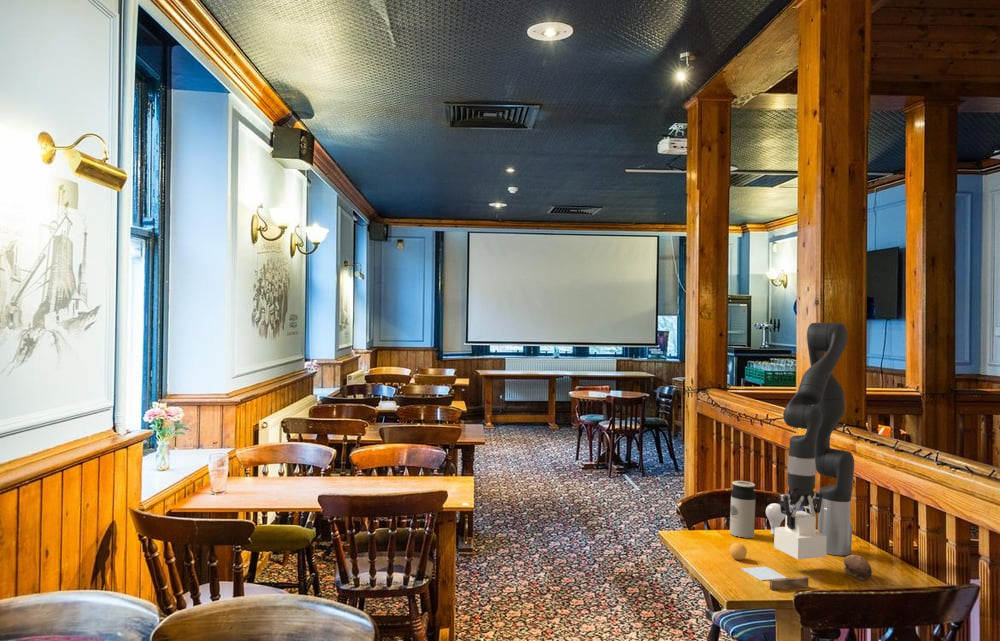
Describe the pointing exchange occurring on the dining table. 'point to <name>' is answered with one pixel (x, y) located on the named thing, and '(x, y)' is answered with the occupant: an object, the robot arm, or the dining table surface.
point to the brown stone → (857, 567)
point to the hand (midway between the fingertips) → (800, 527)
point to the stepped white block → (801, 538)
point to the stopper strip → (789, 583)
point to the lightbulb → (774, 516)
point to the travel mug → (742, 509)
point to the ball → (738, 551)
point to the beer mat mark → (763, 573)
